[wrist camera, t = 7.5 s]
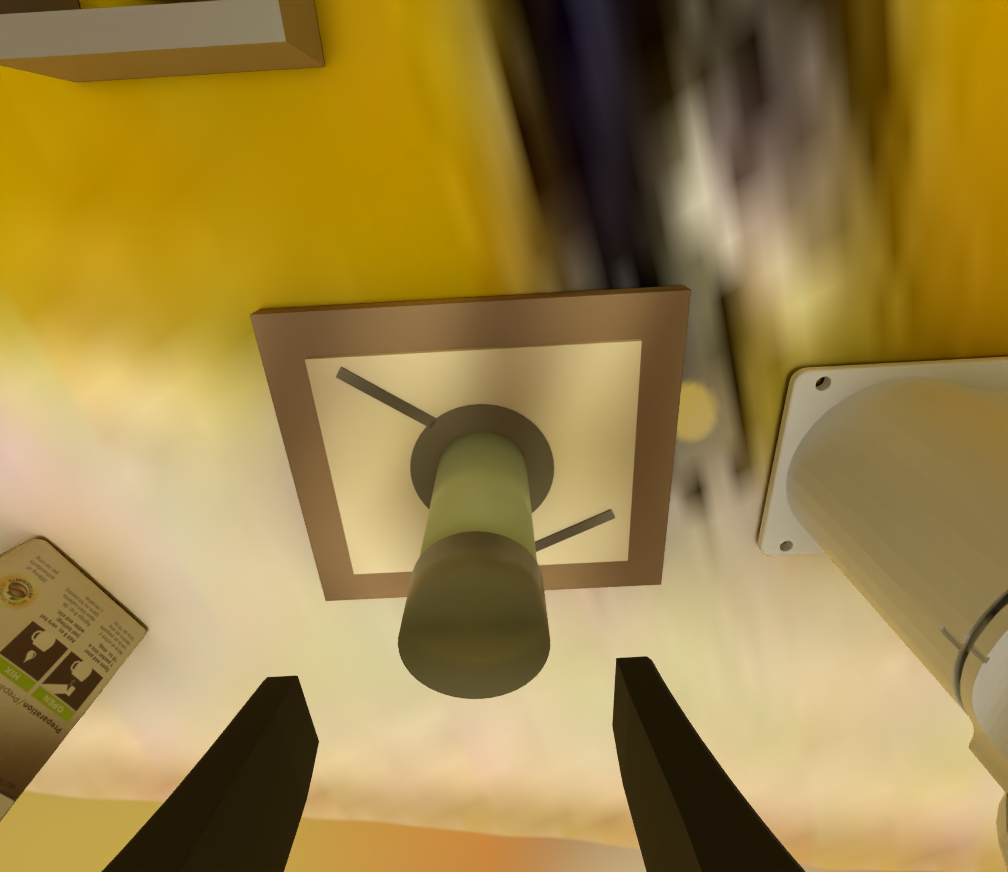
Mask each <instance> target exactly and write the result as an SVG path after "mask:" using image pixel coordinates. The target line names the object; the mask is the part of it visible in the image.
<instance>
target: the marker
mask: <svg viewBox="0 0 1008 872" xmlns="http://www.w3.org/2000/svg"><path fill="white" fill-rule="evenodd" d="M398 648H399V653H400V656H401V659H402V661H403V663H404V665H405V667H406V668H407V669H408V671H409V672H410V673H411V674H412V675H413V676H414V677H415V678H416V679H417V680H418V681H420V682H421V683H422V684H424V685H425V686H427V687H429V688H431V689H433V690H435V691H437V692H440V693H442V694H445V695H449V696H453V697H459V698H467V699H483V698H492V697H496V696H501V695H504V694H507V693H510V692H512V691H515V690H517V689H519V688H521V687H522V686H524V685H526V684H527V683H528V682H530V681H531V680H532V679H533V678H534V677H535V676H536V675H537V674H538V673H539V672H540V671H541V669H542V668H543V666H544V665H545V663H546V661H547V658H548V655H549V651H550V636H549V628H548V619H547V611H546V602H545V594H544V585H543V578H542V573H541V569H540V567H539V565H538V563H537V557H536V548H535V539H534V530H533V521H532V512H531V502H530V493H529V484H528V475H527V466H526V461H525V458H524V456H523V454H522V452H521V450H520V449H519V448H518V447H517V445H516V444H514V443H513V442H512V441H511V440H509V439H508V438H506V437H504V436H502V435H500V434H497V433H493V432H487V431H477V432H471V433H467V434H464V435H462V436H460V437H458V438H456V439H455V440H453V441H452V442H451V443H450V444H449V445H448V446H447V447H446V448H445V450H444V451H443V453H442V455H441V457H440V460H439V465H438V469H437V474H436V479H435V484H434V489H433V494H432V499H431V504H430V508H429V513H428V518H427V523H426V528H425V533H424V538H423V543H422V547H421V552H420V557H419V559H418V560H417V562H416V564H415V566H414V569H413V572H412V577H411V581H410V586H409V591H408V595H407V600H406V605H405V609H404V614H403V618H402V623H401V628H400V632H399V637H398Z"/></svg>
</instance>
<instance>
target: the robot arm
mask: <svg viewBox="0 0 1008 872" xmlns="http://www.w3.org/2000/svg"><path fill="white" fill-rule="evenodd" d="M821 377H825V380H824V382H823V383H822V384H821V385H820V386H817V387H816V382H817V380H818V379H820V378H821ZM785 541H787V543H785V544H784V545H781V544H782V543H783V542H785ZM758 547H759V548H760V550H761V551H762V553H763V554H765V555H767V556H780V555H800V554H820V553H826V554H827V555H828V556H829V558H830V559H831V560H832V561H833V562H834V563H835V564H836V566H837V567H838V568H839V569H840V570H841V571H842V572H843V574H844V575H845V576H846V577H847V578H848V579H849V580H850V582H851V583H852V584H853V585H854V586H855V587H856V588H857V589H858V591H859V592H860V593H861V594H862V595H863V596H864V597H865V599H866V600H867V601H868V602H869V603H870V604H871V605H872V607H873V608H874V609H875V610H876V611H877V612H878V613H879V615H880V616H881V617H882V618H883V619H884V620H885V621H886V623H887V624H888V625H889V626H890V627H891V628H892V629H893V631H894V632H895V633H896V634H897V635H898V636H899V637H900V639H901V640H902V641H903V642H904V643H905V644H906V645H907V647H908V648H909V649H910V650H911V651H912V652H913V653H914V655H915V656H916V657H917V658H918V659H919V660H920V661H921V663H922V664H923V665H924V666H925V667H926V668H927V669H928V671H929V672H930V673H931V674H932V675H933V676H934V677H935V679H936V680H937V681H938V682H939V683H940V684H941V685H942V687H943V688H944V689H945V690H946V691H947V692H948V693H949V694H950V696H951V697H952V698H953V699H954V700H955V701H956V702H957V704H958V705H959V706H960V707H961V708H962V709H963V710H964V712H965V713H966V714H967V715H968V716H969V717H970V719H971V721H972V723H973V726H974V734H973V737H972V739H971V741H970V743H969V749H970V750H971V751H972V752H973V754H974V755H975V756H976V757H977V758H978V760H979V761H980V762H981V763H982V764H983V766H984V767H985V768H986V769H987V770H988V772H989V773H990V774H991V775H992V777H993V778H994V779H995V780H996V781H997V783H998V784H999V785H1000V786H1001V787H1002V789H1003V790H1004V791H1005V794H1004V795H1003V797H1002V799H1001V801H1000V803H999V807H998V814H997V821H996V825H997V834H998V843H999V846H1000V849H1001V852H1002V856H1003V859H1004V862H1005V865H1006V867H1007V870H1008V357H991V358H973V359H954V360H936V361H917V362H899V363H880V364H862V365H843V366H825V367H806V368H802V369H800V370H798V371H796V372H795V373H794V374H793V375H792V376H791V379H790V381H789V386H788V391H787V396H786V401H785V406H784V411H783V416H782V421H781V426H780V431H779V436H778V442H777V447H776V452H775V457H774V462H773V467H772V472H771V477H770V482H769V487H768V492H767V497H766V503H765V508H764V513H763V518H762V523H761V528H760V533H759V538H758ZM612 726H613V732H614V737H615V743H616V749H617V755H618V761H619V766H620V772H621V777H622V783H623V786H624V790H625V794H626V798H627V801H628V805H629V809H630V812H631V816H632V820H633V823H634V827H635V831H636V834H637V838H638V842H639V845H640V849H641V853H642V856H643V860H644V864H645V867H646V871H647V872H805V871H804V869H803V868H802V867H801V866H800V865H799V864H798V863H797V861H796V860H795V859H794V858H793V857H792V856H791V855H790V853H789V852H788V851H787V850H786V849H785V847H784V846H783V845H782V844H781V843H780V841H779V840H778V839H777V838H776V837H775V835H774V834H773V833H772V832H771V830H770V829H769V828H768V827H767V826H766V824H765V823H764V822H763V821H762V819H761V818H760V817H759V816H758V814H757V813H756V812H755V810H754V809H753V808H752V807H751V805H750V804H749V803H748V802H747V800H746V799H745V798H744V796H743V795H742V794H741V793H740V791H739V790H738V789H737V787H736V786H735V785H734V783H733V782H732V781H731V779H730V778H729V777H728V775H727V774H726V773H725V771H724V770H723V768H722V767H721V766H720V764H719V763H718V761H717V760H716V759H715V757H714V756H713V755H712V753H711V752H710V750H709V749H708V748H707V746H706V745H705V743H704V742H703V741H702V739H701V738H700V736H699V735H698V733H697V732H696V730H695V729H694V728H693V726H692V725H691V723H690V722H689V720H688V719H687V717H686V715H685V714H684V712H683V711H682V709H681V708H680V706H679V705H678V703H677V702H676V700H675V698H674V697H673V695H672V694H671V692H670V691H669V689H668V687H667V686H666V684H665V682H664V681H663V679H662V677H661V676H660V674H659V672H658V670H657V669H656V667H655V665H654V663H653V661H652V660H651V659H649V658H648V657H629V658H616V673H615V691H614V708H613V725H612ZM318 743H319V740H318V737H317V734H316V731H315V728H314V725H313V722H312V719H311V716H310V713H309V710H308V707H307V703H306V700H305V697H304V694H303V691H302V688H301V685H300V682H299V679H298V676H282V677H267V678H266V679H265V680H264V681H263V682H262V684H261V685H260V686H259V687H258V689H257V690H256V691H255V692H254V694H253V695H252V696H251V697H250V699H249V700H248V701H247V702H246V704H245V705H244V706H243V707H242V709H241V710H240V711H239V712H238V714H237V715H236V716H235V718H234V719H233V720H232V721H231V723H230V724H229V725H228V726H227V728H226V729H225V730H224V731H223V733H222V734H221V735H220V736H219V737H218V739H217V740H216V741H215V742H214V744H213V745H212V746H211V747H210V749H209V750H208V751H207V752H206V753H205V755H204V756H203V757H202V758H201V759H200V761H199V762H198V763H197V764H196V765H195V767H194V768H193V769H192V770H191V771H190V773H189V774H188V775H187V776H186V777H185V779H184V780H183V781H182V782H181V783H180V785H179V786H178V787H177V788H176V789H175V791H174V792H173V793H172V794H171V795H170V796H169V798H168V799H167V800H166V801H165V802H164V803H163V804H162V806H161V807H160V808H159V809H158V810H157V811H156V812H155V813H154V815H153V816H152V817H151V818H150V819H149V820H148V821H147V822H146V824H145V825H144V826H143V827H142V828H141V829H140V830H139V831H138V833H137V834H136V835H135V836H134V837H133V838H132V839H131V840H130V841H129V843H128V844H127V845H126V846H125V847H124V848H123V849H122V850H121V851H120V853H119V854H118V855H117V856H116V857H115V858H114V859H113V860H112V861H111V862H110V863H109V864H108V865H107V867H106V868H105V869H104V870H103V871H102V872H284V869H285V866H286V863H287V860H288V857H289V854H290V851H291V847H292V844H293V841H294V838H295V835H296V832H297V829H298V826H299V822H300V819H301V816H302V813H303V810H304V806H305V803H306V800H307V796H308V791H309V787H310V782H311V778H312V773H313V768H314V763H315V758H316V753H317V748H318Z"/></svg>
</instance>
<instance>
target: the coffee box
mask: <svg viewBox="0 0 1008 872" xmlns="http://www.w3.org/2000/svg"><path fill="white" fill-rule="evenodd" d="M145 634H146V630H145V629H144V628H143V627H142V626H141V625H140V624H139V623H138V622H137V621H135V620H134V619H133V618H132V617H131V616H130V615H129V614H128V613H126V612H125V611H124V610H123V609H122V608H121V607H120V606H118V605H117V604H116V603H115V602H114V601H113V600H112V599H111V598H109V597H108V596H107V595H106V594H105V593H104V592H103V591H102V590H101V589H99V588H98V587H97V586H96V585H95V584H94V583H93V582H92V581H90V580H89V579H88V578H87V577H86V576H85V575H84V574H83V573H81V572H80V571H79V570H78V569H77V568H76V567H75V566H73V565H72V564H71V563H70V562H69V561H68V560H67V559H66V558H64V557H63V556H62V555H61V554H60V553H59V552H58V551H57V550H56V549H55V548H54V547H52V546H51V545H50V544H49V543H48V542H47V541H45V540H42V539H32V540H30V541H28V542H26V543H24V544H22V545H20V546H18V547H16V548H14V549H12V550H10V551H8V552H6V553H4V554H2V555H0V821H1V820H2V819H3V817H4V816H5V815H6V813H7V812H8V811H9V809H10V808H11V807H12V805H13V804H14V802H15V801H16V800H17V799H18V797H19V796H20V795H21V794H22V792H23V791H24V790H25V788H26V787H27V786H28V784H29V783H30V782H31V781H32V780H33V778H34V777H35V775H36V774H37V773H38V772H39V771H40V769H41V768H42V767H43V766H44V764H45V763H46V762H47V760H48V759H49V758H50V757H51V755H52V754H53V753H54V752H55V750H56V749H57V748H58V746H59V745H60V744H61V742H62V741H63V740H64V738H65V737H66V736H67V734H68V733H69V732H70V731H71V729H72V728H73V727H74V726H75V724H76V723H77V722H78V720H79V719H80V718H81V717H82V716H83V715H84V713H85V712H86V710H87V709H88V708H89V707H90V706H91V704H92V703H93V701H94V700H95V699H96V697H97V696H98V695H99V694H100V693H101V691H102V690H103V688H104V687H105V686H106V685H107V684H108V682H109V681H110V680H111V678H112V677H113V676H114V674H115V673H116V672H117V670H118V669H119V668H120V667H121V665H122V664H123V663H124V661H125V660H126V659H127V658H128V656H129V655H130V654H131V653H132V651H133V650H134V649H135V647H136V646H137V645H138V644H139V642H140V641H141V640H142V639H143V637H144V636H145Z"/></svg>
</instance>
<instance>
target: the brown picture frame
mask: <svg viewBox="0 0 1008 872" xmlns="http://www.w3.org/2000/svg"><path fill="white" fill-rule="evenodd" d="M690 294H691V290H690V289H688V288H686V287H685V286H683V285H682V286H664V287H646V288H628V289H611V290H593V291H575V292H557V293H540V294H522V295H504V296H486V297H468V298H451V299H433V300H415V301H397V302H380V303H362V304H344V305H326V306H309V307H291V308H273V309H259V310H258V311H256V312H254V313H252V314H250V318H251V322H252V325H253V329H254V333H255V337H256V340H257V344H258V348H259V352H260V355H261V359H262V363H263V367H264V370H265V374H266V378H267V382H268V386H269V389H270V393H271V397H272V401H273V404H274V408H275V412H276V416H277V419H278V423H279V427H280V431H281V434H282V438H283V442H284V446H285V449H286V453H287V457H288V461H289V464H290V468H291V472H292V476H293V479H294V483H295V487H296V491H297V495H298V498H299V502H300V506H301V510H302V513H303V517H304V521H305V525H306V528H307V532H308V536H309V540H310V543H311V547H312V551H313V555H314V558H315V562H316V566H317V570H318V573H319V577H320V581H321V585H322V589H323V592H324V596H325V600H326V601H334V600H355V599H375V598H395V597H407V595H408V591H409V586H410V581H411V577H412V572H413V569H414V566H415V564H416V562H417V560H418V559H419V557H420V552H421V547H422V543H423V538H424V533H425V528H426V523H427V518H428V513H429V508H430V504H431V499H432V494H433V489H434V484H435V479H436V474H437V469H438V465H439V460H440V457H441V455H442V453H443V451H444V450H445V448H446V447H447V446H448V445H449V444H450V443H451V442H452V441H453V440H455V439H456V438H458V437H460V436H462V435H464V434H467V433H471V432H477V431H487V432H493V433H497V434H500V435H502V436H504V437H506V438H508V439H509V440H511V441H512V442H513V443H514V444H516V445H517V447H518V448H519V449H520V450H521V452H522V454H523V456H524V458H525V461H526V466H527V475H528V484H529V493H530V502H531V512H532V521H533V530H534V539H535V548H536V557H537V563H538V565H539V567H540V569H541V573H542V578H543V585H544V590H558V589H578V588H598V587H619V586H639V585H659V584H661V580H662V570H663V560H664V551H665V541H666V531H667V521H668V511H669V501H670V491H671V482H672V472H673V462H674V452H675V442H676V432H677V421H678V412H679V403H680V392H681V383H682V373H683V363H684V353H685V343H686V334H687V324H688V314H689V304H690Z"/></svg>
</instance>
